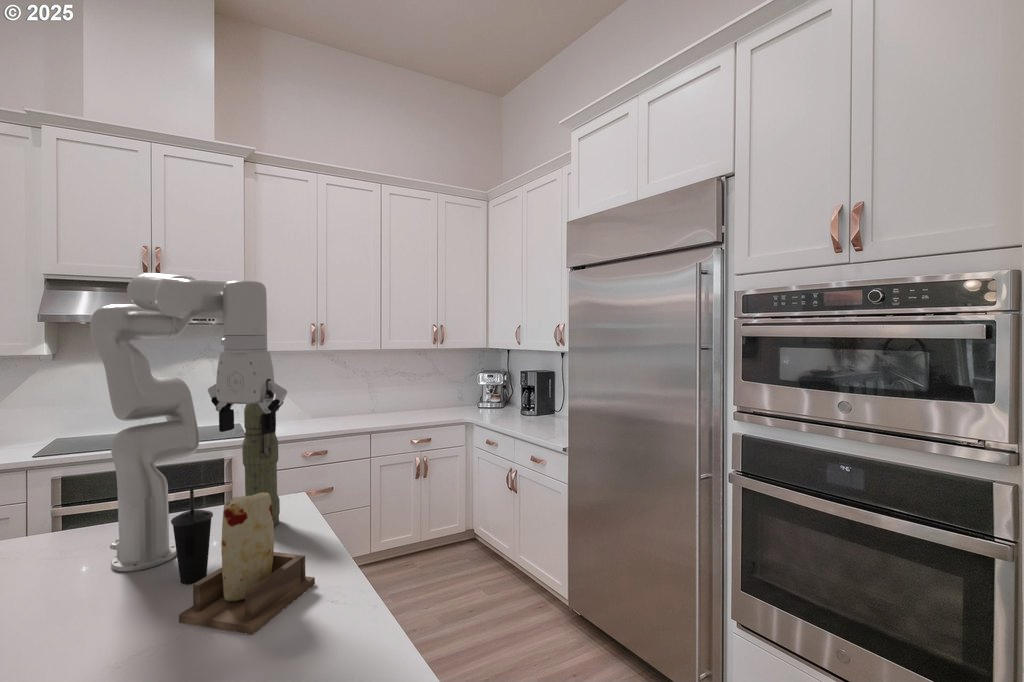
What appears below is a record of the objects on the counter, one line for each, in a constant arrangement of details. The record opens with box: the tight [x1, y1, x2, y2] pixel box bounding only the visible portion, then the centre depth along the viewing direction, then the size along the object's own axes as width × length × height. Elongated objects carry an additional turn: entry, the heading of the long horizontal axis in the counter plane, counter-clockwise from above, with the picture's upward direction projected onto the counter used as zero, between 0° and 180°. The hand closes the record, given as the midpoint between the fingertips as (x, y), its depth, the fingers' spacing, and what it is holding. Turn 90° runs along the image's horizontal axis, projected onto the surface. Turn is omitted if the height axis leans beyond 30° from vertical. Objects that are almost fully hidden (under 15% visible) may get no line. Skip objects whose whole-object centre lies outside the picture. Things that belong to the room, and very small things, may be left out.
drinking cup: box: [170, 486, 214, 586], centre depth 110 cm, size 8×8×20 cm
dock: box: [178, 551, 316, 636], centre depth 101 cm, size 16×18×6 cm
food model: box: [220, 493, 275, 601], centre depth 101 cm, size 10×7×20 cm
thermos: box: [241, 403, 281, 528], centre depth 139 cm, size 9×12×35 cm
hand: (247, 431), depth 100 cm, fingers open, 9 cm apart
